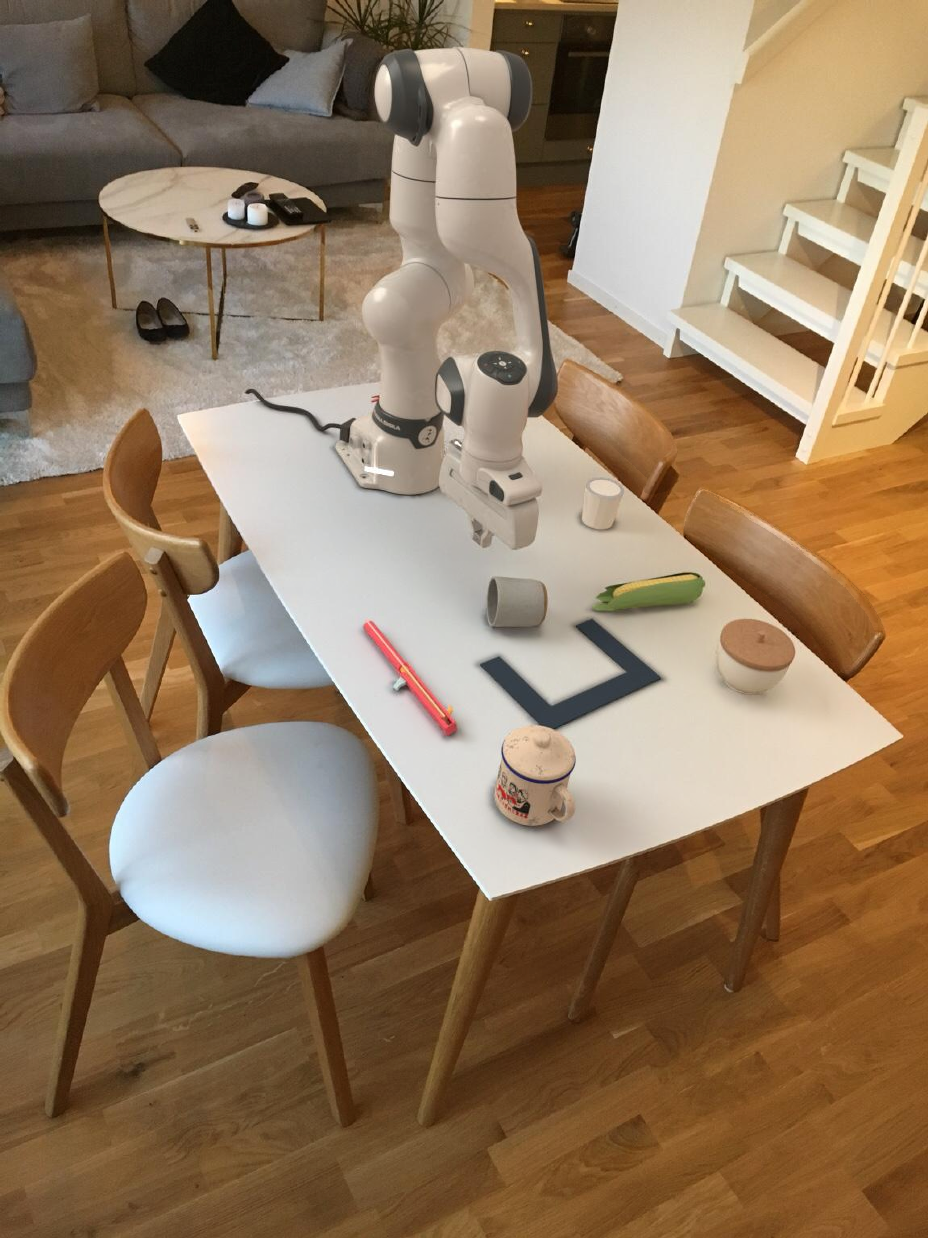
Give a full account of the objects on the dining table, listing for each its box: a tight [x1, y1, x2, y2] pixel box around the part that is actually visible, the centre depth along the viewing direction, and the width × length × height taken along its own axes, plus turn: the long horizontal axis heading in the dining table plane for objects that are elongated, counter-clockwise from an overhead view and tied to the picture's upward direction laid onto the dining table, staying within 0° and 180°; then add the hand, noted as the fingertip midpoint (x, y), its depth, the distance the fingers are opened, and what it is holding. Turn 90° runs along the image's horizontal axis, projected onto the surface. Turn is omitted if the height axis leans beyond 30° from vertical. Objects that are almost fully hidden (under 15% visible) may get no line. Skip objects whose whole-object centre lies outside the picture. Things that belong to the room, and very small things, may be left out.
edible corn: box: [591, 571, 706, 611], centre depth 160 cm, size 5×20×5 cm, turn 110°
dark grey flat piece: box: [479, 618, 662, 730], centre depth 146 cm, size 16×22×1 cm
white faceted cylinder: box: [581, 477, 625, 530], centre depth 177 cm, size 7×7×7 cm
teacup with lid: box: [494, 724, 577, 827], centre depth 122 cm, size 12×9×12 cm
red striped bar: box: [363, 618, 458, 737], centre depth 140 cm, size 24×2×5 cm
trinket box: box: [715, 618, 796, 696], centre depth 146 cm, size 11×11×9 cm
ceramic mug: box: [486, 575, 549, 628], centre depth 153 cm, size 11×8×8 cm
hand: (480, 542), depth 155 cm, fingers closed
